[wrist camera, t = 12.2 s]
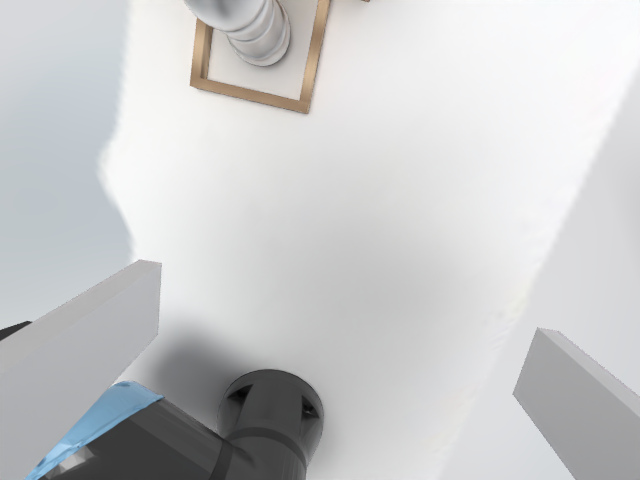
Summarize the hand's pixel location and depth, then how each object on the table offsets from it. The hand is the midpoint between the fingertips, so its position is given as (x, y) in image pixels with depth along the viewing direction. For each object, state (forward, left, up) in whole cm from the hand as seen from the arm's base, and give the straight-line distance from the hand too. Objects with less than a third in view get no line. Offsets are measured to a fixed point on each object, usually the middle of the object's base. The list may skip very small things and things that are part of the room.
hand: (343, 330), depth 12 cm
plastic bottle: (+15, +12, -32) cm, 37 cm away
